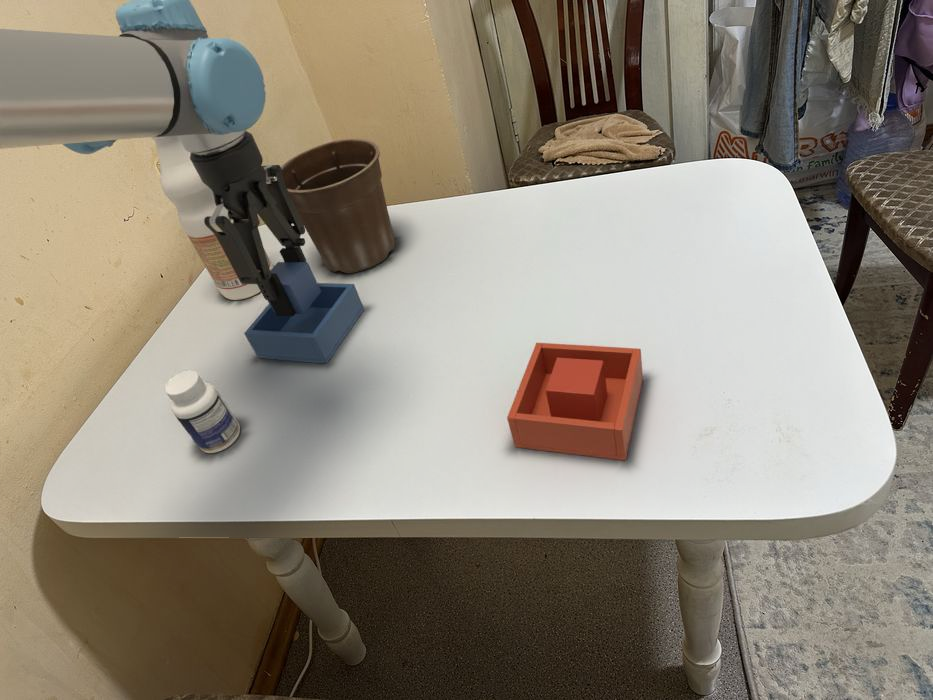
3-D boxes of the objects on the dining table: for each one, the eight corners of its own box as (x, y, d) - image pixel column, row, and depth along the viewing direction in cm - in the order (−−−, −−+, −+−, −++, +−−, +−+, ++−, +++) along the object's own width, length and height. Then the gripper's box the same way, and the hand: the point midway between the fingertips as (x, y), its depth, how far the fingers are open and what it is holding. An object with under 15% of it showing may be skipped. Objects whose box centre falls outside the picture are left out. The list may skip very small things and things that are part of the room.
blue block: (273, 313, 90) (258, 283, 87) (292, 290, 93) (277, 261, 90) (303, 314, 88) (289, 284, 85) (321, 291, 91) (308, 261, 88)
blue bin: (257, 358, 93) (243, 333, 90) (299, 306, 100) (287, 282, 97) (327, 363, 88) (314, 337, 85) (364, 309, 96) (354, 283, 93)
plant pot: (425, 251, 104) (395, 156, 94) (332, 296, 100) (291, 202, 90) (385, 216, 116) (355, 129, 106) (301, 255, 112) (262, 168, 102)
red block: (552, 423, 70) (545, 390, 67) (562, 390, 74) (556, 357, 71) (598, 428, 68) (593, 394, 65) (607, 393, 72) (603, 360, 69)
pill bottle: (196, 435, 83) (155, 380, 77) (236, 414, 84) (200, 358, 78) (203, 461, 79) (161, 405, 73) (245, 440, 80) (207, 383, 74)
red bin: (514, 447, 70) (506, 417, 67) (542, 371, 78) (536, 342, 75) (625, 460, 65) (622, 430, 62) (643, 379, 73) (640, 348, 70)
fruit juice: (225, 309, 105) (129, 143, 87) (218, 282, 112) (128, 123, 94) (281, 285, 106) (198, 117, 88) (271, 260, 113) (192, 100, 96)
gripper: (196, 179, 68) (285, 346, 83) (285, 105, 80) (349, 263, 95) (144, 182, 71) (239, 343, 86) (237, 110, 83) (306, 262, 98)
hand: (296, 300), depth 91 cm, fingers closed on blue block, 5 cm apart
